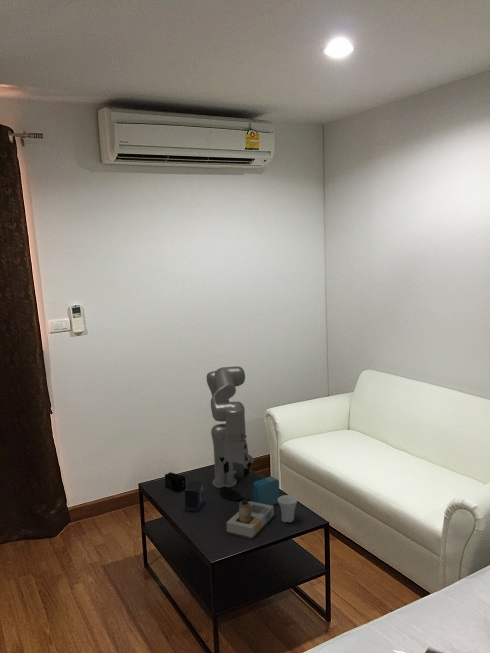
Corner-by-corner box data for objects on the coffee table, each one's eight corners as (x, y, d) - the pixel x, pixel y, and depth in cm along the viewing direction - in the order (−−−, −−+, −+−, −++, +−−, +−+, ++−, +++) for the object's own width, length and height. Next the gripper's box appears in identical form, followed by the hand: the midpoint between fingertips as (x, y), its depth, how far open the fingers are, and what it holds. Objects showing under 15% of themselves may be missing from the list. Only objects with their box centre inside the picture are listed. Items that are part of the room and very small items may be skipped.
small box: (198, 512, 246) (197, 491, 245) (184, 511, 248) (183, 490, 246) (204, 502, 256) (203, 481, 255) (191, 501, 258) (190, 480, 256)
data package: (274, 499, 257) (273, 475, 255) (279, 502, 253) (279, 478, 252) (253, 506, 250) (252, 482, 249) (259, 510, 247) (258, 485, 245)
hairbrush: (250, 506, 245) (216, 487, 264) (250, 514, 246) (215, 494, 264) (263, 500, 251) (228, 482, 269) (263, 508, 251) (228, 489, 270)
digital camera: (163, 488, 273) (162, 475, 272) (171, 484, 277) (170, 471, 277) (178, 493, 267) (177, 480, 266) (185, 489, 271) (185, 476, 270)
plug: (243, 524, 232) (242, 497, 231) (253, 526, 230) (252, 499, 228) (237, 529, 228) (236, 502, 226) (248, 531, 226) (247, 504, 224)
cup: (273, 518, 238) (273, 497, 237) (292, 513, 242) (291, 492, 241) (283, 527, 230) (282, 505, 229) (302, 522, 234) (301, 500, 233)
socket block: (250, 511, 246) (249, 500, 245) (274, 516, 240) (273, 505, 239) (226, 533, 227) (226, 521, 226) (252, 539, 221) (252, 527, 220)
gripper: (257, 436, 227) (258, 474, 230) (221, 430, 235) (223, 467, 238) (249, 442, 221) (250, 481, 224) (213, 436, 229) (214, 474, 231)
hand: (236, 474), depth 231 cm, fingers open, 9 cm apart
